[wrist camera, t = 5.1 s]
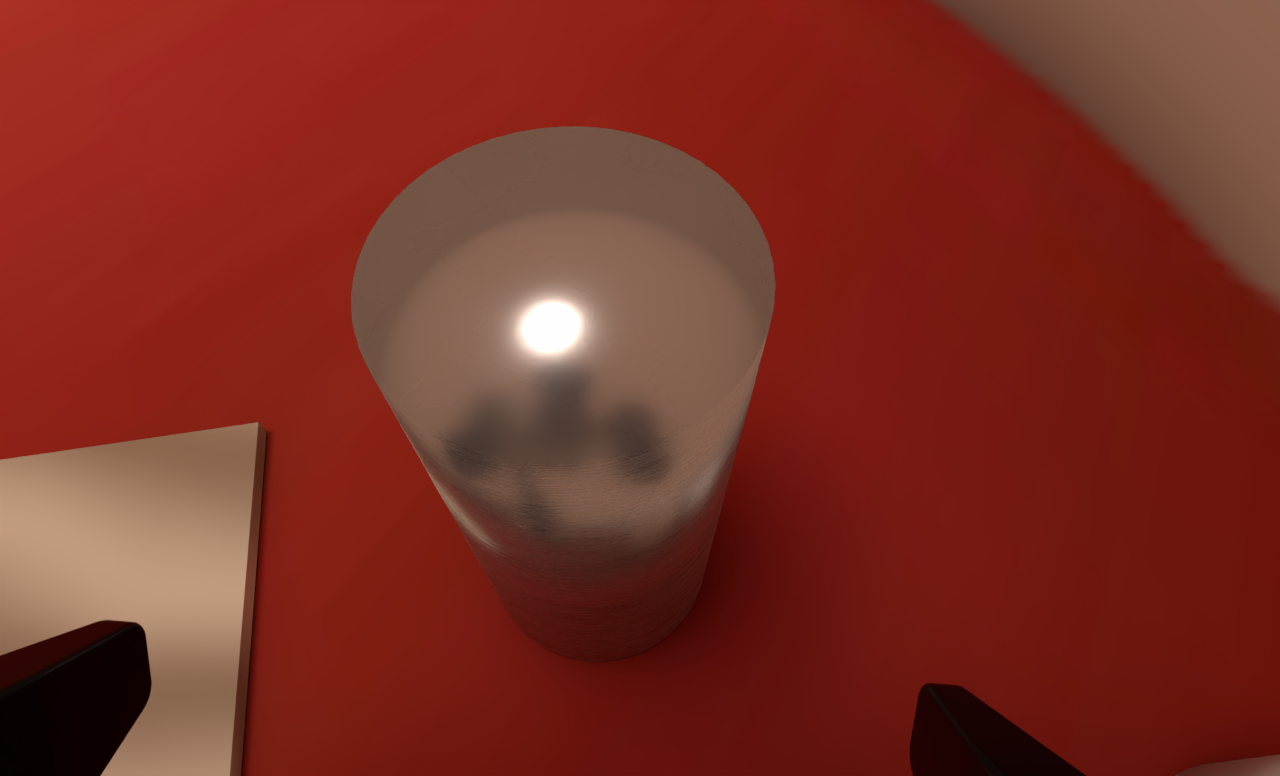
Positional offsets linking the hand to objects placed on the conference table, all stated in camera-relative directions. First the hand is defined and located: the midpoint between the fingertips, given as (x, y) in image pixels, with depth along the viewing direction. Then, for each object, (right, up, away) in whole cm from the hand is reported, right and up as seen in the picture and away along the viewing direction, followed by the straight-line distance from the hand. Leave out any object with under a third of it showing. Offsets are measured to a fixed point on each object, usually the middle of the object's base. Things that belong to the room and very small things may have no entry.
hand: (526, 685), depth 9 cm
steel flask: (0, -1, +13) cm, 13 cm away
